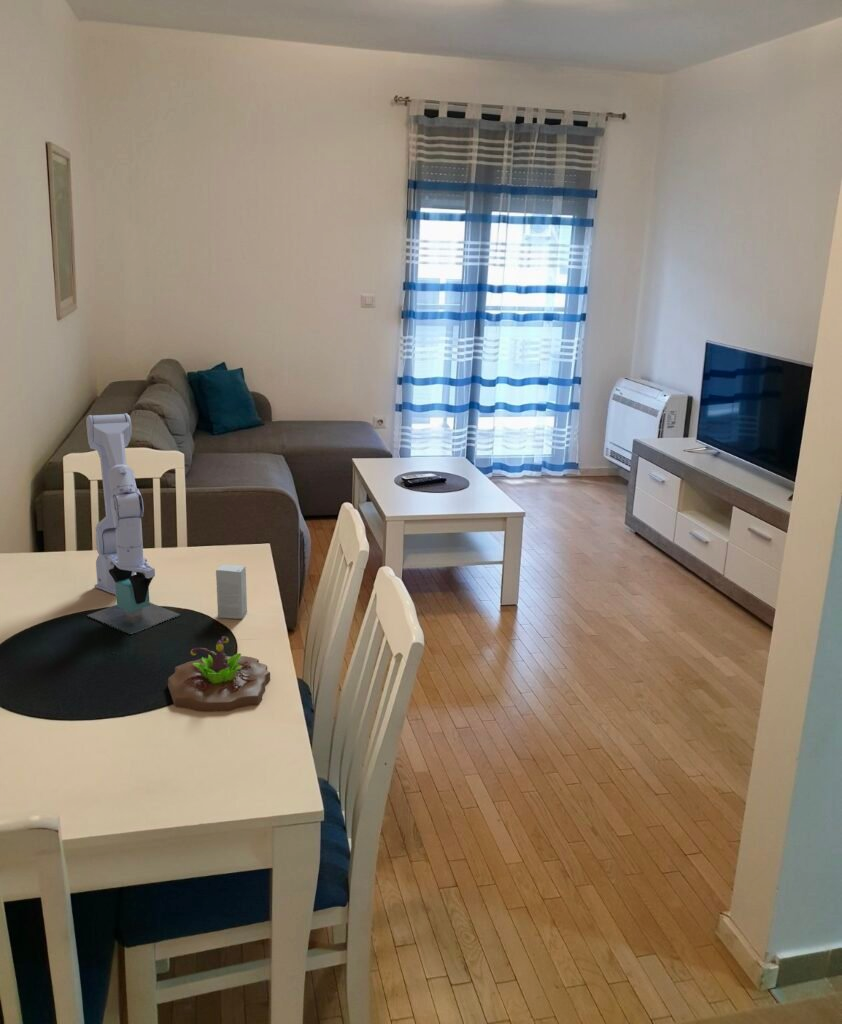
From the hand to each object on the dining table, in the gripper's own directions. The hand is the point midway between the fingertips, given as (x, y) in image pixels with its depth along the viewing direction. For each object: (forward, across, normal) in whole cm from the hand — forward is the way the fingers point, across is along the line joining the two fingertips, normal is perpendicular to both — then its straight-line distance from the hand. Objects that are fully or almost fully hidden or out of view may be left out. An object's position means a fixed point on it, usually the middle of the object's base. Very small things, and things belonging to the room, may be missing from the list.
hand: (133, 599), depth 209 cm
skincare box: (+4, -17, -15) cm, 23 cm away
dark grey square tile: (+4, 0, 0) cm, 4 cm away
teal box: (+2, 0, 0) cm, 2 cm away
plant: (+5, -42, +11) cm, 43 cm away
